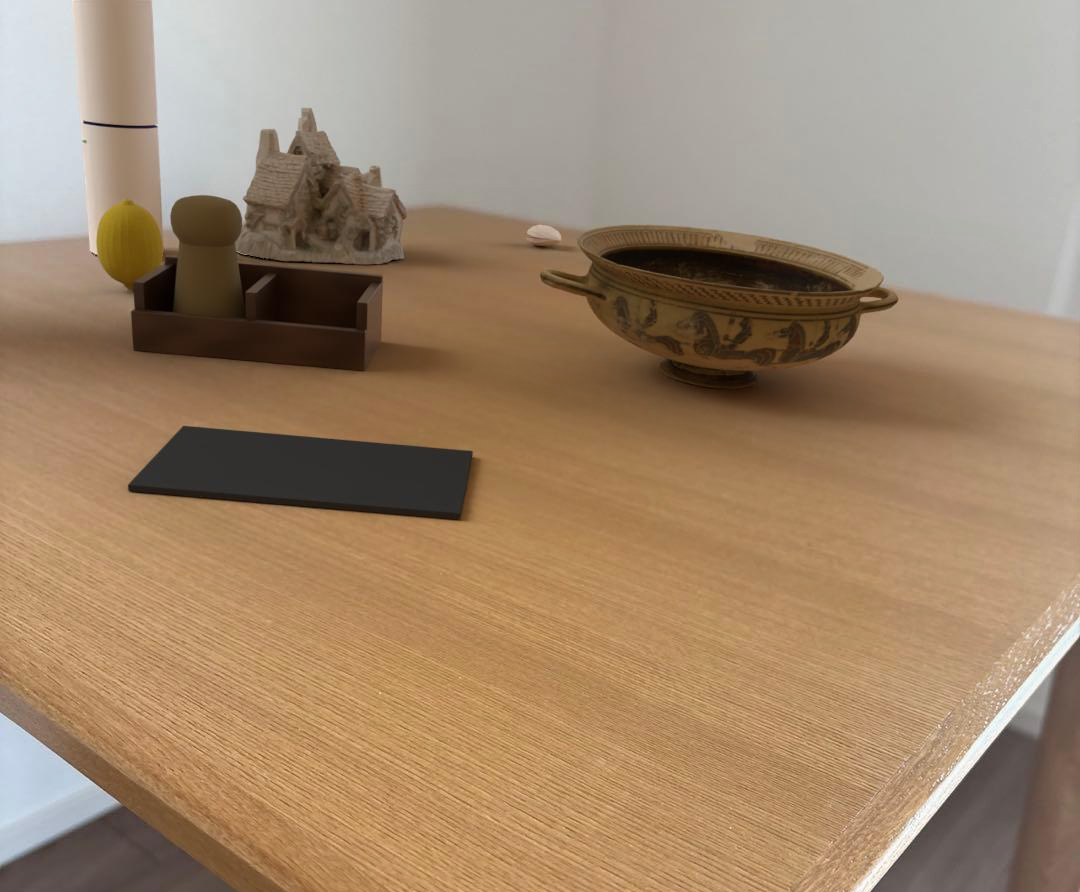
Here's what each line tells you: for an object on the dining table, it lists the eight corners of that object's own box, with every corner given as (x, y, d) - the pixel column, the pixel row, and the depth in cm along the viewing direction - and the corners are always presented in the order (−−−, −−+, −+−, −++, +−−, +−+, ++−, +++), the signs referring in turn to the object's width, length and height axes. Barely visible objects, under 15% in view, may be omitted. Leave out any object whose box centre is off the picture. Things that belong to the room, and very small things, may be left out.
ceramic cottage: (212, 245, 122) (218, 98, 116) (321, 238, 135) (331, 105, 129) (315, 281, 115) (328, 127, 109) (420, 270, 128) (436, 132, 122)
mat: (127, 491, 61) (127, 484, 61) (183, 431, 70) (183, 425, 70) (460, 519, 61) (460, 513, 61) (472, 456, 71) (472, 450, 70)
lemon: (139, 301, 98) (134, 206, 95) (86, 291, 100) (79, 198, 97) (177, 290, 103) (173, 200, 100) (126, 281, 105) (120, 192, 101)
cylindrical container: (121, 262, 112) (103, -18, 101) (74, 250, 115) (53, -23, 105) (178, 255, 117) (167, -12, 107) (132, 243, 121) (117, -17, 110)
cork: (220, 355, 86) (216, 206, 81) (153, 342, 87) (146, 195, 83) (264, 339, 91) (263, 198, 86) (201, 326, 93) (196, 188, 88)
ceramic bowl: (562, 418, 79) (577, 275, 75) (506, 330, 100) (515, 215, 96) (949, 427, 85) (982, 295, 81) (819, 343, 107) (840, 235, 103)
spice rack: (132, 350, 85) (128, 277, 83) (170, 322, 93) (167, 254, 91) (364, 371, 85) (366, 298, 83) (381, 340, 94) (383, 274, 91)
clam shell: (544, 242, 144) (546, 222, 143) (571, 249, 141) (573, 229, 140) (519, 244, 141) (521, 223, 140) (546, 251, 138) (548, 230, 137)
